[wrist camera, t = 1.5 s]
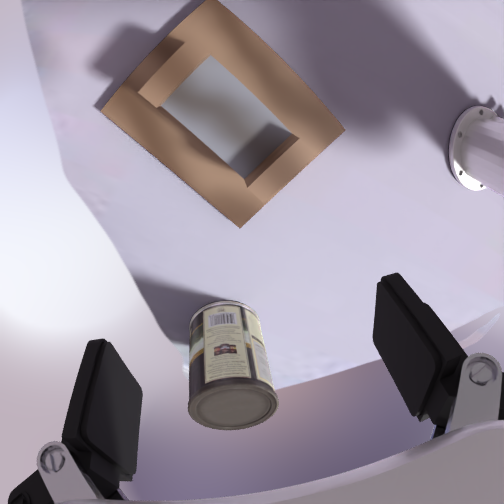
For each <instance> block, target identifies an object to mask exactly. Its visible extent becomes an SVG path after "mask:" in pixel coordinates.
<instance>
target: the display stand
mask: <svg viewBox="0 0 504 504" xmlns="http://www.w3.org/2000/svg"><path fill="white" fill-rule="evenodd" d="M101 112H102V113H103V114H104V115H106V116H107V117H108V118H109V119H110V120H112V121H113V122H114V123H115V124H116V125H118V126H119V127H120V128H121V129H122V130H124V131H125V132H126V133H127V134H128V135H130V136H131V137H132V138H133V139H134V140H136V141H137V142H138V143H139V144H140V145H142V146H143V147H144V148H145V149H146V150H148V151H149V152H150V153H151V154H152V155H154V156H155V157H156V158H157V159H158V160H160V161H161V162H162V163H163V164H164V165H166V166H167V167H168V168H169V169H170V170H171V171H173V172H174V173H175V174H176V175H177V176H179V177H180V178H181V179H182V180H183V181H185V182H186V183H187V184H188V185H189V186H190V187H192V188H193V189H194V190H195V191H196V192H198V193H199V194H200V195H201V196H202V197H203V198H205V199H206V200H207V201H208V202H209V203H211V204H212V205H213V206H214V207H215V208H216V209H218V210H219V211H220V212H221V213H222V214H224V215H225V216H226V217H227V218H228V219H229V220H231V221H232V222H233V223H234V224H235V225H236V226H238V227H239V228H241V227H242V226H243V225H244V224H245V223H246V222H247V221H248V220H249V219H251V218H252V217H253V216H254V215H255V214H256V213H257V212H258V211H259V210H260V209H261V208H262V207H263V206H264V205H265V204H266V203H267V202H268V201H270V200H271V199H272V198H273V197H274V196H275V195H276V194H277V193H278V192H279V191H280V190H281V189H282V188H283V187H284V186H286V185H287V184H288V183H289V182H290V181H291V180H292V179H293V178H294V177H295V176H296V175H297V174H298V173H299V172H301V171H302V170H303V169H304V168H305V167H306V166H307V165H308V164H309V163H310V162H311V161H312V160H314V159H315V158H316V157H317V156H318V155H319V154H320V153H321V152H322V151H323V150H324V149H325V148H327V147H328V146H329V145H330V144H331V143H332V142H333V141H334V140H335V139H336V138H338V137H339V136H340V135H341V134H342V133H343V132H344V131H345V129H344V127H343V126H342V125H341V124H340V122H339V121H338V120H337V119H336V118H335V116H334V115H333V114H332V113H331V112H330V111H329V109H328V108H327V107H326V106H325V105H324V104H323V102H322V101H321V100H320V99H319V98H318V97H317V96H316V95H315V93H314V92H313V91H312V90H311V89H310V88H309V87H308V86H307V85H306V84H305V82H304V81H303V80H302V79H301V78H300V77H299V76H298V75H297V74H296V73H295V72H294V71H293V70H292V69H291V68H290V67H289V66H288V65H287V64H286V63H285V62H284V60H283V59H282V58H281V57H280V56H279V55H278V54H276V53H275V52H274V51H273V50H272V49H271V48H270V47H269V46H268V45H267V44H266V43H265V42H264V41H263V40H262V39H261V38H260V37H259V36H258V35H257V34H256V33H254V32H253V31H252V30H251V29H250V28H249V27H248V26H247V25H246V24H245V23H243V22H242V21H241V20H240V19H239V18H238V17H237V16H235V15H234V14H233V13H232V12H231V11H230V10H228V9H227V8H226V7H225V6H224V5H222V4H221V3H220V2H219V1H218V0H206V1H204V2H203V3H202V4H201V5H200V6H199V7H197V8H196V9H195V10H194V11H193V12H192V13H191V14H190V15H188V16H187V17H186V18H185V19H184V20H183V21H182V22H181V23H180V24H179V25H178V26H177V27H175V28H174V29H173V30H172V31H171V32H170V33H169V34H168V35H167V36H166V37H165V38H164V39H163V40H162V41H161V42H160V43H159V44H158V45H157V46H156V47H155V48H154V49H153V50H152V51H151V52H150V54H149V55H148V56H147V57H146V58H145V59H144V60H143V61H142V62H141V63H140V64H139V65H138V67H137V68H136V69H135V70H134V71H133V72H132V73H131V74H130V76H129V77H128V78H127V79H126V80H125V81H124V83H123V84H122V85H121V86H120V87H119V89H118V90H117V91H116V92H115V93H114V95H113V96H112V97H111V98H110V100H109V101H108V102H107V103H106V105H105V106H104V107H103V109H102V110H101Z"/></svg>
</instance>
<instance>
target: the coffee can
mask: <svg viewBox="0 0 504 504" xmlns="http://www.w3.org/2000/svg"><path fill="white" fill-rule="evenodd" d="M189 331H190V351H189V402H188V412H189V415H190V416H191V418H192V419H193V420H195V421H196V422H197V423H199V424H201V425H203V426H205V427H209V428H212V429H219V430H239V429H245V428H249V427H252V426H255V425H258V424H260V423H262V422H264V421H266V420H267V419H269V418H270V417H271V416H273V414H274V413H275V412H276V410H277V409H278V405H279V402H278V397H277V395H276V393H275V389H274V385H273V381H272V376H271V372H270V367H269V363H268V359H267V354H266V350H265V345H264V341H263V336H262V332H261V327H260V320H259V318H258V316H257V314H256V313H255V311H253V310H252V309H251V308H250V307H248V306H246V305H244V304H242V303H239V302H234V301H219V302H214V303H211V304H208V305H206V306H204V307H202V308H201V309H200V310H198V311H197V312H196V313H195V314H194V316H193V317H192V319H191V321H190V325H189Z"/></svg>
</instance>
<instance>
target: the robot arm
mask: <svg viewBox="0 0 504 504" xmlns="http://www.w3.org/2000/svg"><path fill="white" fill-rule="evenodd" d="M449 160H450V165H451V169H452V172H453V174H454V176H455V178H456V179H457V181H458V182H459V183H460V184H461V185H463V186H464V187H466V188H468V189H470V190H476V191H478V190H482V189H484V188H486V187H487V188H489V189H491V190H492V191H494V192H496V193H497V194H499V195H501V196H502V197H504V119H503V118H499V117H498V115H497V114H496V113H495V112H494V111H492V110H491V109H489V108H487V107H483V106H474V107H470V108H469V109H467V110H466V111H464V112H463V113H462V114H461V115H460V117H459V118H458V120H457V121H456V123H455V125H454V128H453V130H452V134H451V137H450V143H449ZM373 342H374V345H375V347H376V348H377V350H378V352H379V354H380V356H381V358H382V359H383V361H384V363H385V365H386V367H387V369H388V371H389V372H390V374H391V376H392V378H393V380H394V382H395V384H396V386H397V387H398V390H399V392H400V393H401V395H402V397H403V399H404V401H405V403H406V405H407V407H408V409H409V411H410V413H411V415H412V416H417V417H418V419H419V421H420V422H421V421H424V420H425V419H428V418H430V419H431V421H432V423H433V424H434V428H433V431H432V434H431V438H430V440H429V441H427V442H425V443H423V444H420V445H418V446H416V447H413V448H411V449H409V450H406V451H404V452H401V453H398V454H396V455H393V456H391V457H388V458H385V459H383V460H380V461H377V462H375V463H372V464H369V465H366V466H363V467H360V468H357V469H354V470H351V471H348V472H344V473H341V474H338V475H334V476H331V477H327V478H324V479H320V480H316V481H312V482H308V483H304V484H299V485H295V486H290V487H286V488H281V489H275V490H270V491H265V492H259V493H252V494H246V495H238V496H231V497H221V498H211V499H198V500H180V501H129V499H128V498H127V497H126V496H125V494H124V493H123V492H122V490H121V489H120V488H119V481H132V476H133V474H135V473H136V466H137V451H138V437H139V426H140V415H141V405H142V396H143V394H142V389H141V387H140V385H139V384H138V382H137V381H136V379H135V378H134V377H133V375H132V374H131V373H130V371H129V370H128V368H127V367H126V365H125V363H124V362H123V361H122V359H121V358H120V356H119V354H118V353H117V351H116V350H115V348H114V347H113V345H112V344H111V343H110V342H107V341H106V340H105V339H97V340H91V341H89V342H88V344H87V346H86V349H85V352H84V355H83V359H82V362H81V365H80V369H79V372H78V375H77V379H76V382H75V386H74V389H73V393H72V397H71V400H70V404H69V408H68V412H67V416H66V420H65V424H64V428H63V433H62V441H61V442H57V441H53V442H49V443H47V444H45V445H44V446H43V447H42V448H41V450H40V451H39V453H38V456H37V466H38V470H36V471H35V472H34V473H33V474H32V475H30V476H29V477H28V478H27V479H26V480H25V481H23V482H22V483H21V484H20V485H18V486H17V487H16V488H15V489H14V490H13V491H12V492H11V493H10V496H9V499H8V504H504V372H502V369H501V366H500V364H499V362H498V361H497V360H496V359H495V358H494V357H492V356H491V355H488V354H485V353H475V354H472V355H470V356H469V357H468V356H467V354H466V353H465V352H464V350H463V349H462V348H461V346H460V345H459V344H458V342H457V341H456V340H455V338H454V337H453V336H452V334H451V333H450V332H449V330H448V329H447V328H446V326H445V325H444V324H443V323H442V321H441V320H440V319H439V317H438V316H437V315H436V314H435V312H434V311H433V310H432V309H431V307H430V306H429V305H428V304H426V303H423V302H422V300H421V299H420V298H419V297H418V296H417V294H416V293H415V292H414V291H413V289H412V288H411V287H410V286H409V285H408V283H407V282H406V281H405V280H404V279H403V277H402V276H401V275H400V274H399V273H394V274H390V275H387V276H383V277H382V278H381V282H378V283H377V292H376V306H375V317H374V328H373Z"/></svg>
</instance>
